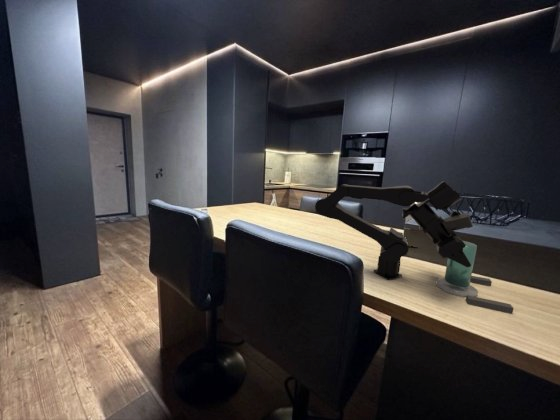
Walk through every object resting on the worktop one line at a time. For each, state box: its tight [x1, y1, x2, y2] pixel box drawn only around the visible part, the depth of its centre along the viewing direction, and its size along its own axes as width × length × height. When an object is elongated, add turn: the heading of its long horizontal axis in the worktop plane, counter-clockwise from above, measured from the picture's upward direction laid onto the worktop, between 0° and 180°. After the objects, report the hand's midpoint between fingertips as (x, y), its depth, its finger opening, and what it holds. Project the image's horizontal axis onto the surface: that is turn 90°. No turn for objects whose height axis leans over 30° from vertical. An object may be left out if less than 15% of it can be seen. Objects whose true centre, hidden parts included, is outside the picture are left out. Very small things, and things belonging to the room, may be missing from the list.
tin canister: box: [444, 240, 478, 287], centre depth 69 cm, size 6×6×12 cm
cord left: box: [470, 275, 493, 287], centre depth 75 cm, size 9×2×2 cm, turn 64°
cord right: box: [465, 295, 514, 314], centre depth 62 cm, size 9×2×2 cm, turn 64°
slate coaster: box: [435, 277, 479, 298], centre depth 71 cm, size 10×10×1 cm
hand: (466, 262), depth 68 cm, fingers closed on tin canister, 6 cm apart
